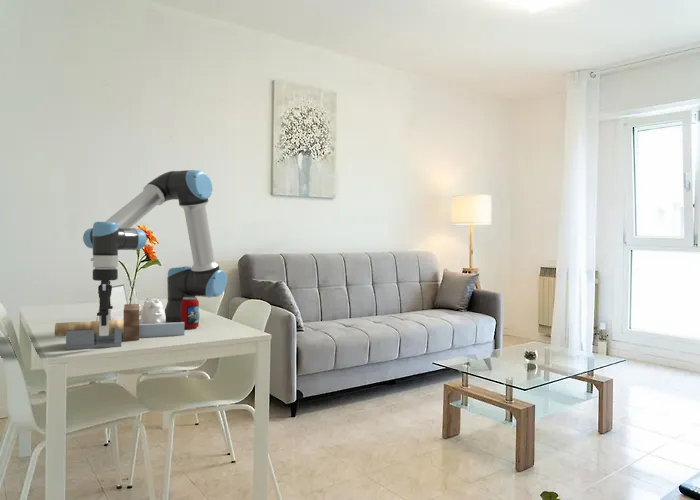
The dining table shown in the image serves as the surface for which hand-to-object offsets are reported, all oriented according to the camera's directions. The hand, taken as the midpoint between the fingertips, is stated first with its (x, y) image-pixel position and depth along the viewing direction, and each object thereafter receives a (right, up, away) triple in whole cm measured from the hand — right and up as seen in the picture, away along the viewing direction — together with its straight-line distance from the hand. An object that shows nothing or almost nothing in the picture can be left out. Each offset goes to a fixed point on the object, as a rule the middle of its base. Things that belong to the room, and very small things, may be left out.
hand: (105, 332), depth 171 cm
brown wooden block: (+2, -4, +15) cm, 16 cm away
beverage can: (+18, -4, +33) cm, 38 cm away
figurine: (+4, -4, +31) cm, 31 cm away
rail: (+6, -4, +14) cm, 16 cm away
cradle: (-3, -4, -1) cm, 5 cm away
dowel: (-4, +2, -2) cm, 5 cm away
